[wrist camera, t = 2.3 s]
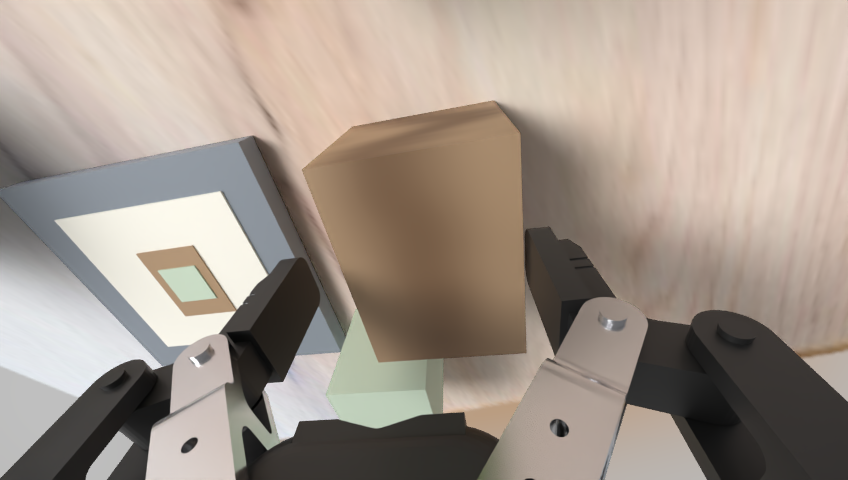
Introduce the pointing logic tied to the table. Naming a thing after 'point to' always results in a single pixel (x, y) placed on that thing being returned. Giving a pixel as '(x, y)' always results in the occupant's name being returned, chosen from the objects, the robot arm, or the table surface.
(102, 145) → the table surface
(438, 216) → the walnut block
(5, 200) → the board
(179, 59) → the table surface
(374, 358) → the sage block
